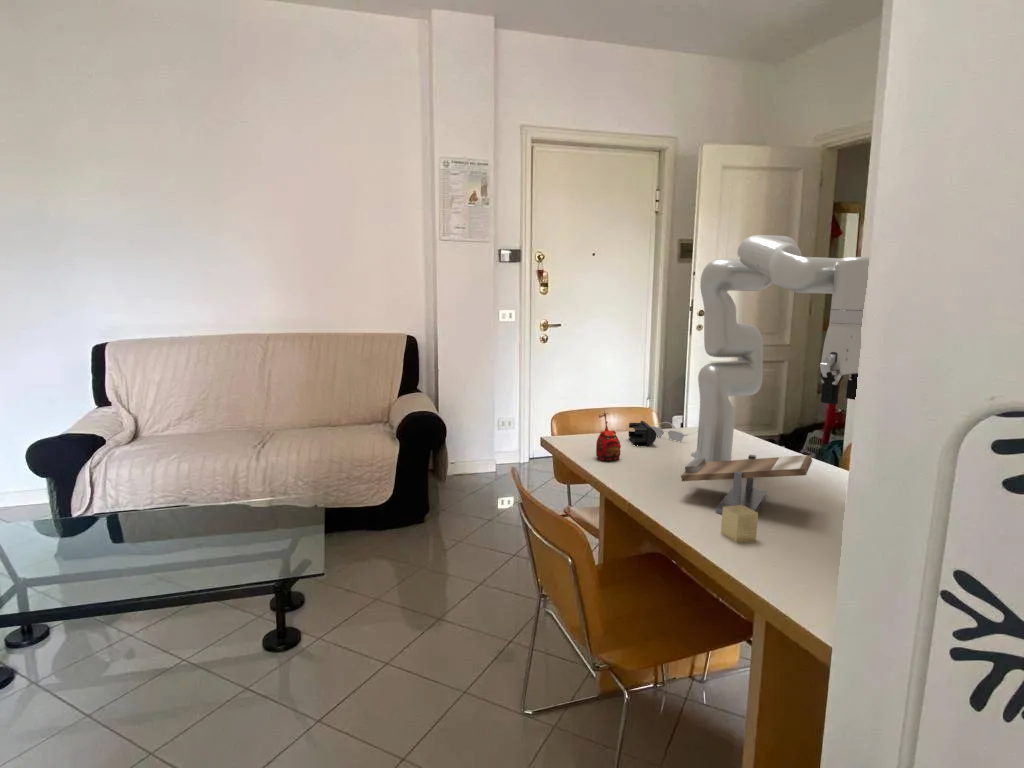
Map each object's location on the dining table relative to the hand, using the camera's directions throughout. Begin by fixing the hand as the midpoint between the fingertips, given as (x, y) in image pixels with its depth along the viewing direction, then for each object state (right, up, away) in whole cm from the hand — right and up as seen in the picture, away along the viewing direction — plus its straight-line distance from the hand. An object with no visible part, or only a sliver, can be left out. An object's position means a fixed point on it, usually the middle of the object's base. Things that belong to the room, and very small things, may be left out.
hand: (841, 401), depth 124 cm
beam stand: (-12, -26, +22) cm, 36 cm away
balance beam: (-12, -17, +21) cm, 29 cm away
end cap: (-25, -17, +77) cm, 83 cm away
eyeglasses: (-9, -15, +90) cm, 92 cm away
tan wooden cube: (-20, -29, +3) cm, 36 cm away
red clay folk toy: (-40, -20, +58) cm, 73 cm away
